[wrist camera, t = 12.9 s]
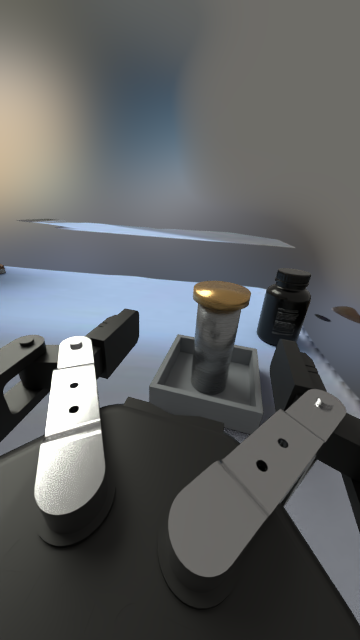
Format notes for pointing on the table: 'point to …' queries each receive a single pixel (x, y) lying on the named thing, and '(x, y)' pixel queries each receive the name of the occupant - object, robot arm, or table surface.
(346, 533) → the table surface
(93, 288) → the table surface
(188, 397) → the tray
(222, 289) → the pin
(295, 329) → the supplement bottle
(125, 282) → the table surface
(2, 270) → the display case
